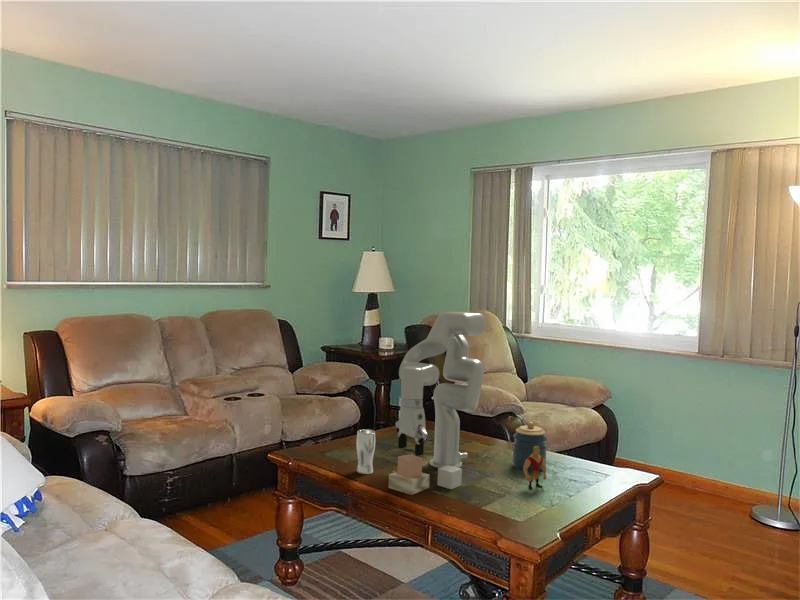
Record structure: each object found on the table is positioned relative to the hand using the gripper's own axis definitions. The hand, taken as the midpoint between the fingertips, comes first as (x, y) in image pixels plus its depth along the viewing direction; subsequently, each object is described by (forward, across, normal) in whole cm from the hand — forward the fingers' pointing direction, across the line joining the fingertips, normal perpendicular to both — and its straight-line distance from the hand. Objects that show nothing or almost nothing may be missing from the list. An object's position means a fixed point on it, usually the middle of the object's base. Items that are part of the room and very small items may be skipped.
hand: (410, 451), depth 220 cm
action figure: (+13, -22, -38) cm, 46 cm away
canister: (+14, -4, -54) cm, 56 cm away
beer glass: (+13, +22, +5) cm, 26 cm away
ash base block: (+13, 0, +1) cm, 13 cm away
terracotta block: (+8, 0, +1) cm, 8 cm away
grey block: (+13, -5, -13) cm, 19 cm away
